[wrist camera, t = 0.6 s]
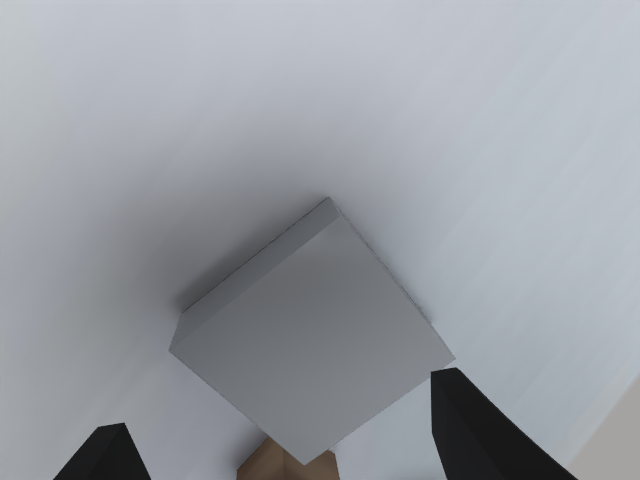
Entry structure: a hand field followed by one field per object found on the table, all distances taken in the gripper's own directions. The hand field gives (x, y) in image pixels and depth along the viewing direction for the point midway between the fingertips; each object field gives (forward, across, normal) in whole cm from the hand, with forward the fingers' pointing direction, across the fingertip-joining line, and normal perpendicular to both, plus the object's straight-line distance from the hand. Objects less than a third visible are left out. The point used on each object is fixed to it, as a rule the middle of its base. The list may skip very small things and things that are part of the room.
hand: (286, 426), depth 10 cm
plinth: (+10, -1, +4) cm, 11 cm away
